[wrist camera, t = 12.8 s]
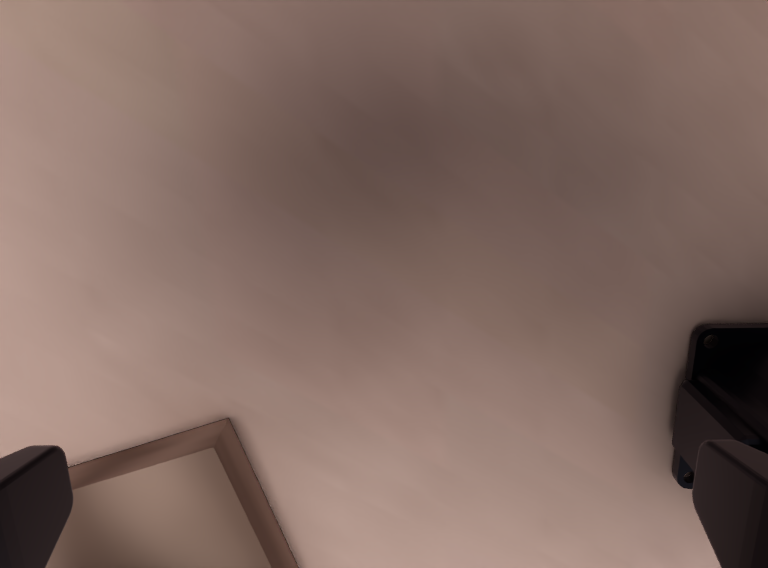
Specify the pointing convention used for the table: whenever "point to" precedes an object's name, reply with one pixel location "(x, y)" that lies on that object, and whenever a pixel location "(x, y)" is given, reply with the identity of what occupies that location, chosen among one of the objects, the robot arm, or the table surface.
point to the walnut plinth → (172, 508)
